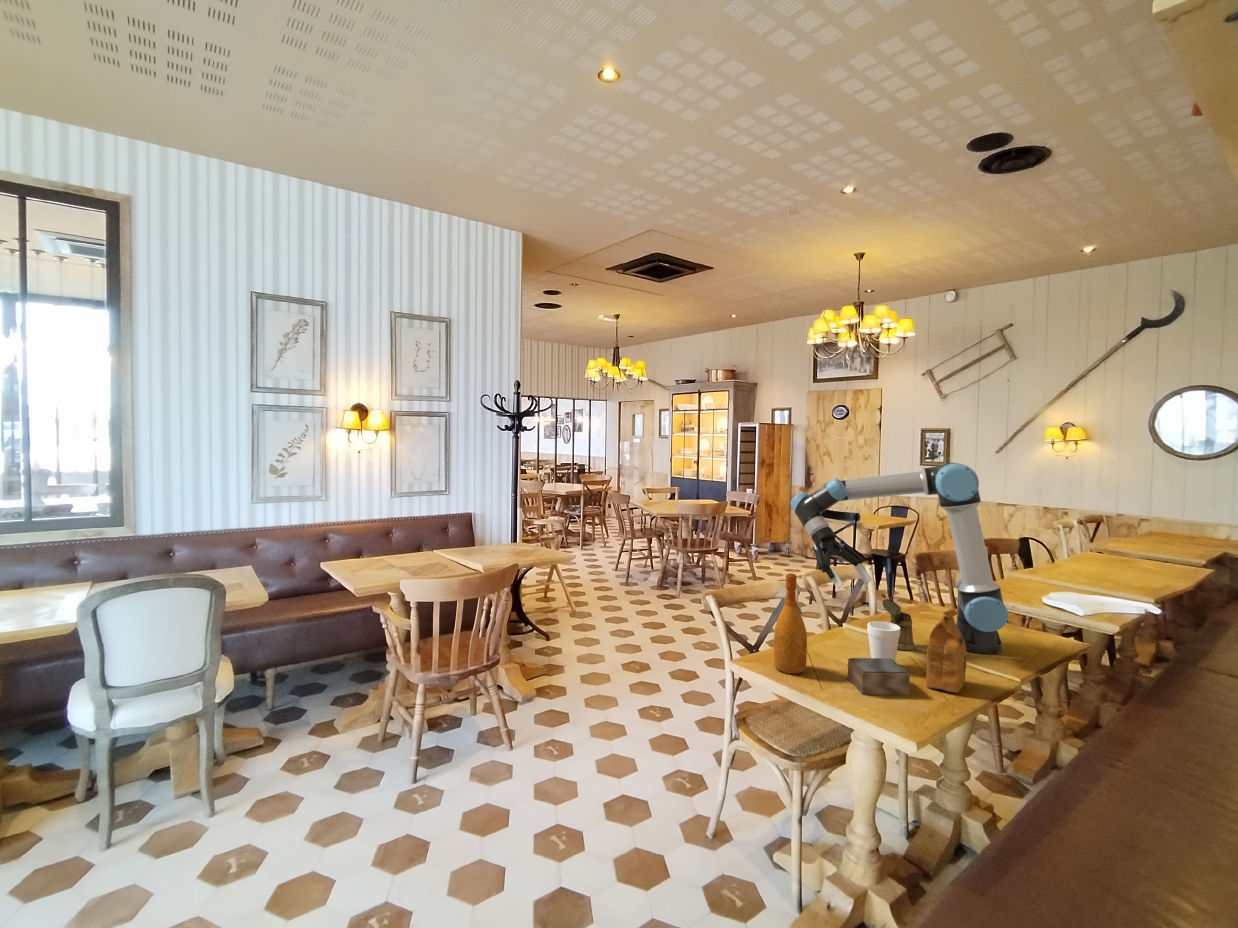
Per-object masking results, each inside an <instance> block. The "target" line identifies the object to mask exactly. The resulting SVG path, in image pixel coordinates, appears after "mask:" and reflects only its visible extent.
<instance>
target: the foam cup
mask: <svg viewBox="0 0 1238 928" xmlns="http://www.w3.org/2000/svg"><path fill="white" fill-rule="evenodd" d="M866 626H867V631H866V632H867V635H868V643H869V652H870V653H869V654H870V658H891V659H892V660H894V661H895V662H896V659H897V657H896V656H897V652H898V650H897V647H898V641H899V637H900V627H899V626H898V625H896V624H893V623H890V621H889V622H888V621H881V620H878V621H877V620H875V621H873V620H872V621H869V622H867V625H866Z"/></svg>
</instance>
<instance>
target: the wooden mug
mask: <svg viewBox="0 0 1238 928" xmlns="http://www.w3.org/2000/svg"><path fill="white" fill-rule="evenodd" d="M882 606H883V609H884V610H885V611H887V613H889V614H890V618H889V623H893V624H896V625H898V626H899V627H900V637H899V641H898V647H897V651H905V652H908V651H914V649H915V641H914V635H913V626H912V625H913V620H912V617H911V614H909V613H906V612H902V610H901V607H900V606H899V604H897V603H896V602H894V601H893V600H892V599H889V598H885V599H884V600H882Z"/></svg>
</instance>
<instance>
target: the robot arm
mask: <svg viewBox="0 0 1238 928" xmlns="http://www.w3.org/2000/svg"><path fill="white" fill-rule="evenodd" d="M979 484H980V481H979V476H978V474H977V473H976V472H975V471H974V470H973V469H972V468H971V467H970V466H968V465H965V464H963V463H960V462H959V463H958V462H948V463H947V462H946V463H943V464H940V465H936V466H930V467H923V468H922V469H921V470H920V471H913V472H906V473H905V472H904V473H903V472H902V473H897V474H889V475H888V474H887V475H880V476H879V475H877V476H870V477H860V478H852V479H844V480H841V479H839V478H836V477H835V478H833V479H831V480H829V481H827V482H825V483H824V484H823V485H822V486H821V487H819V488H818V489H816V490H815V491H814V492H813V493H811V494H808V493H806V492H800V493H799V494H796V495H795V496H794V497H793V498H792V499H791V501H790V507H791V508H792V510H793V512H794V515H795V516H796V517H797V518H798V520H799V521H800V523H801V525H802V526H803V527H804V529H805V530H806V531H807V533H808V535H809V536H810V537H811V540H812V542H813V543H814V545H813V546H812V548H811V549H812V550H813V552H814V555H815V559H816V564H817V566H816V567H817V569H818V571H821V572H822V573H824V574H825V573H826V575H827V576H828V578H829V579H830V580H831V581H832V583H833V584H834V586H835V587H836V590H837V589H840V588H841V587H842V586H844V582H843V580H842V579H841V578H840V576H839V574H838V573H837V571H836V569H835V568H834V567H831V564H832V563H831V559H832V557H833V556H834V557H835V556H837V557H840V558H842V559H843V560H845V561H847V562H849V564H851V565H852V566H853V567H854V569H855V571H856V573H857V574H858V575H859V577H860V578H861V580H862V581H863V583H864V585H867V584H869V583H870V582H871V581H872V577H871V576H870V575H869V573H868V571H867V570H866V568H865V566H864V565H863V562H865V559H864V558H863V557H862V556H861V555H860V554H858V553H857V552H856V551H855V550H854V549H852V547H850V546H849V545H848V544H847V543H846V542H845V540H844V539H842V540H840V541H838V540H837V539H836V537H837V536H836V533H835V532H834V530H833V529H832V528H831V527H830V524H829V523H828V522H827V519H825V517H824V516H823V514H822V513H825V511H827V510H828V509H829V508H831V507H833V506H835V505H836V504H837V503H838V502H845V501H851V500H861V499H870V498H871V499H872V498H882V497H893V496H895V497H896V496H905V495H913V494H925V495H926V496H933V495H936V496H937V497H938V501H939V505H940V508H941V509H943V510H945V512H946V514H947V515H946V516H947V518H948V523H949V528H950V532H951V537H952V542H953V546H954V551H955V554H956V555H955V556H956V561H957V564H958V570H959V573H960V578H961V579H960V580H959V581H957V602H956V603H957V606H956V608H957V609H956V611H957V615H956V622H955V624H956V627H957V628H958V629H959V631H960V632H961V634H962V636H963V638H964V641H965V646H966V652H970V653H975V652H977V653H976V654H982V653H997V654H999V653H998V652H1000V653H1001V652H1003V651H1002V650H1003V644H1002V643H1003V642H1002V640H1001V637H1000V634H999V630H1000V629H1003V627H1004V626H1005V625H1006V624H1007V623H1008V620H1009V610H1008V608H1007V606H1006V605H1005V603H1004V598H1003V594H1002V590H1001V586H1000V584H999V583H997V582H995V581H994V579H993V575H992V572H991V566H990V561H989V557H988V556H989V555H988V553H987V547H986V543H985V539H984V538H985V537H984V535H983V529H982V526H981V522H980V521H981V520H980V517H979V512H978V506H980V503H982V500H981V495H980V490H979V487H980V486H979Z"/></svg>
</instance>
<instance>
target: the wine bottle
mask: <svg viewBox="0 0 1238 928" xmlns="http://www.w3.org/2000/svg"><path fill="white" fill-rule="evenodd" d="M784 587H785V589H786V594H785V600H784V605H783V608H782V609H781V612H780V613H779V616H778V618H777V620H776V622H775V626H774V632H773V664H774V668H775V669H776V670H777V671H779V672H781V673H785V674H789V675H791V674H792V675H797V674H801V673H804V672H805V671H806V668H807V648H808V647H807V646H808V634H807V629H806V625H805V622H804V619H803V617H804V614H803V611H802V608H801V606H800V605H799V604H798V602H797V597H796V596H797V595H796V590H797V587H798V586H797V574H795V573H790V572H788V573H787V574H785V586H784ZM802 616H803V617H802Z"/></svg>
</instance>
